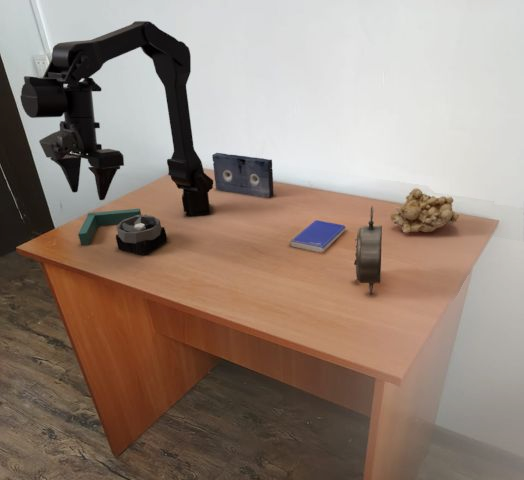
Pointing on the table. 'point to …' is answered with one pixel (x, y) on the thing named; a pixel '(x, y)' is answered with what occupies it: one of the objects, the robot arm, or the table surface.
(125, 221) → the cpu cooler
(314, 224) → the blue book
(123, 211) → the corner stop
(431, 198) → the mineral formation
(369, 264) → the alarm clock
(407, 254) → the table surface
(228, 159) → the vhs cassette tape
